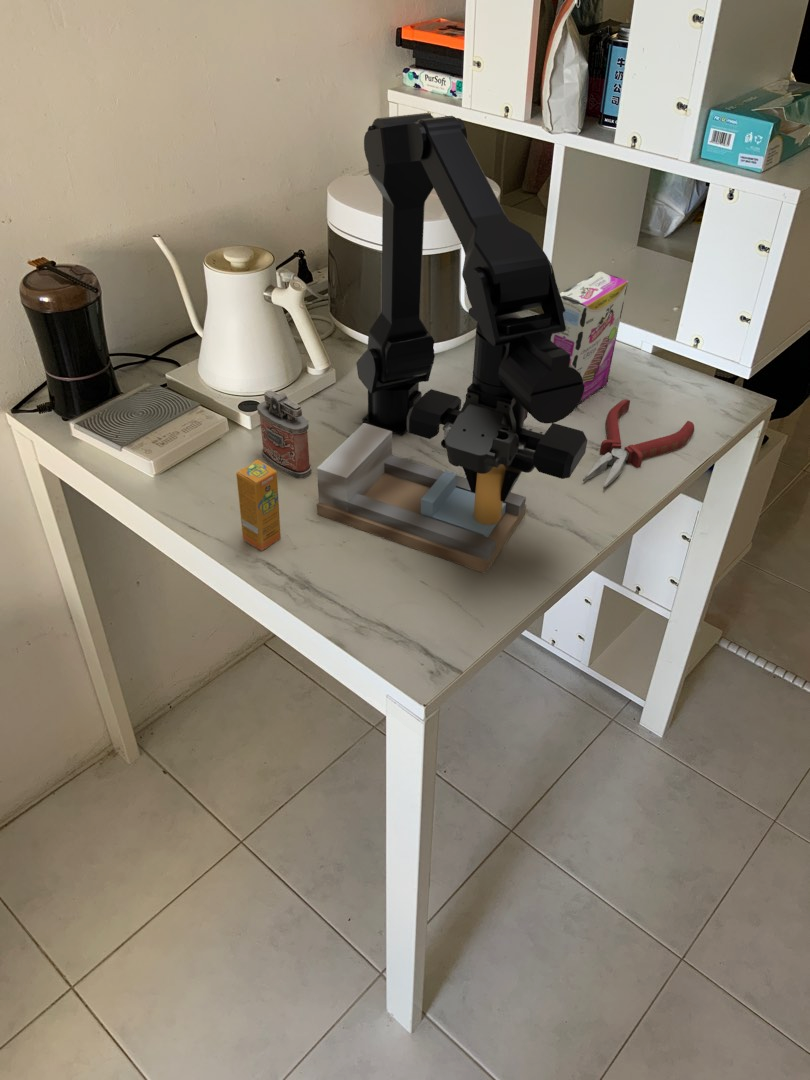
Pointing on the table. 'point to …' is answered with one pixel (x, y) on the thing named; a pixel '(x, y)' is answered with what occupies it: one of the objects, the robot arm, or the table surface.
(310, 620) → the table surface
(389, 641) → the table surface
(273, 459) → the lighter
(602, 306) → the candy bar box
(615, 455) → the pliers
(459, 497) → the press jaw
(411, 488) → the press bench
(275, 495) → the supplement box
